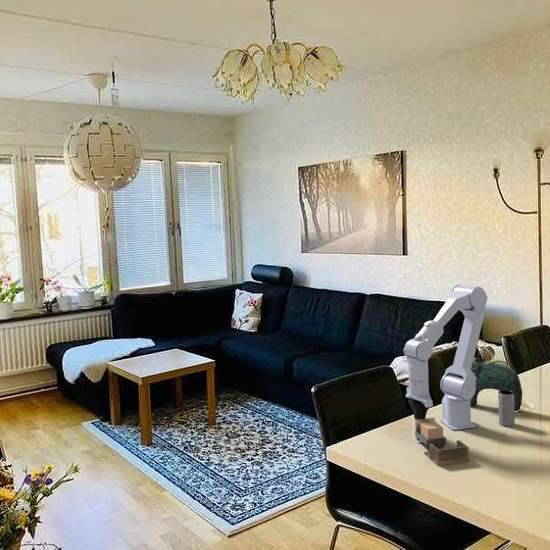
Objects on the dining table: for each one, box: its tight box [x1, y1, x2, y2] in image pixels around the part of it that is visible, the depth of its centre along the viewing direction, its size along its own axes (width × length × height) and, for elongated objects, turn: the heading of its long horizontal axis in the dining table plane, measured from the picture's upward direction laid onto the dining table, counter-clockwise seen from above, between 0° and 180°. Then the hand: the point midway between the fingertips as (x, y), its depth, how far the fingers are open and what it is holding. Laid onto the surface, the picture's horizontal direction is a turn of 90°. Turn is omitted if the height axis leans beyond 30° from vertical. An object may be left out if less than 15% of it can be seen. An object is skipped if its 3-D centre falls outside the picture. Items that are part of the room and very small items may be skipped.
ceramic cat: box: [470, 349, 523, 411], centre depth 198 cm, size 20×6×20 cm, turn 56°
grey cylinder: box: [497, 390, 516, 428], centre depth 182 cm, size 4×4×10 cm
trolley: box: [414, 417, 447, 449], centre depth 170 cm, size 8×6×6 cm
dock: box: [423, 439, 470, 467], centre depth 160 cm, size 8×9×4 cm
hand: (420, 423), depth 177 cm, fingers closed
